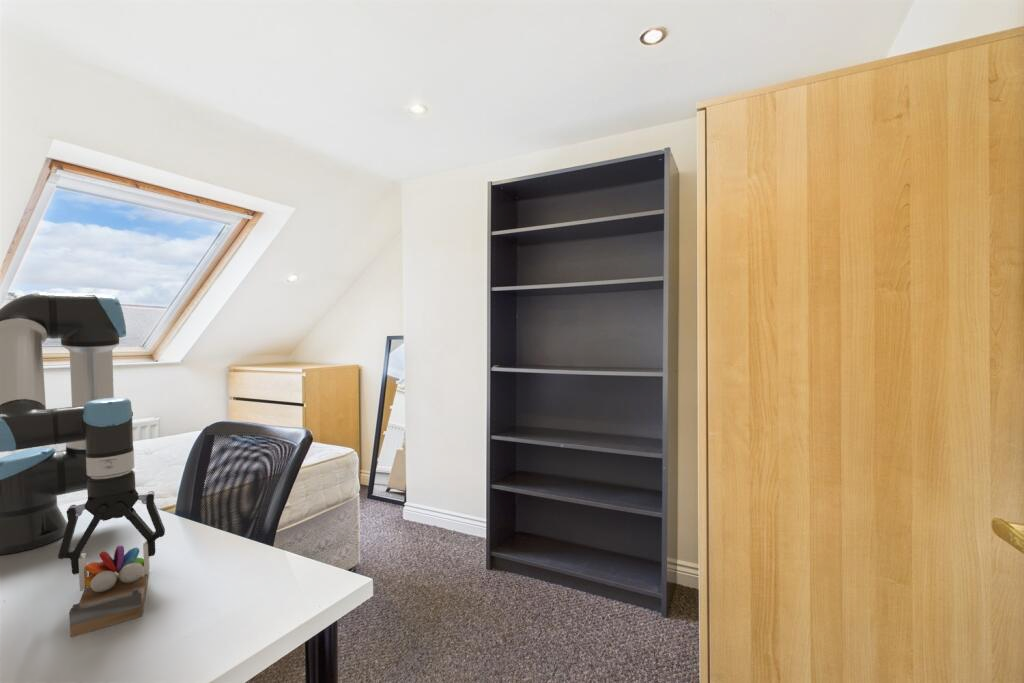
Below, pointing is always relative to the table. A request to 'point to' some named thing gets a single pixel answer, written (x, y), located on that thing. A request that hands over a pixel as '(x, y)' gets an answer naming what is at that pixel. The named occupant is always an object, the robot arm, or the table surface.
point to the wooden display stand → (108, 606)
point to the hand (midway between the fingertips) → (116, 579)
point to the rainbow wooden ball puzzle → (114, 569)
